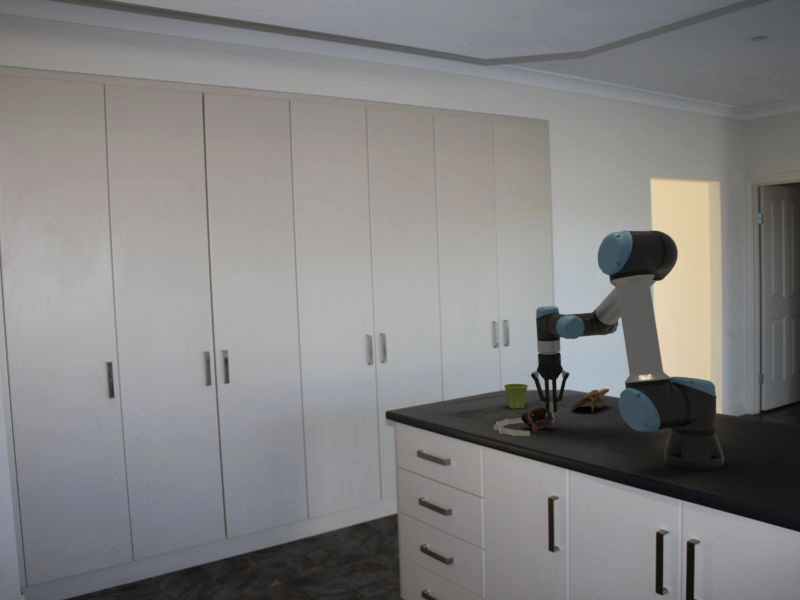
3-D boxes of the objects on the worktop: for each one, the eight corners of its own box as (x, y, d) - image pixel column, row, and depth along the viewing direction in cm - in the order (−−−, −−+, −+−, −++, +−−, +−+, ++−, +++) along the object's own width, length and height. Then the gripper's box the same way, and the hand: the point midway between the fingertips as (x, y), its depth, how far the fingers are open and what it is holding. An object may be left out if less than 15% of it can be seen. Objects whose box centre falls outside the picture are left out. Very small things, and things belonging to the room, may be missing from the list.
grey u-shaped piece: (529, 436, 219) (529, 432, 219) (490, 435, 223) (490, 430, 223) (535, 421, 239) (535, 417, 239) (499, 420, 243) (499, 416, 242)
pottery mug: (560, 424, 228) (556, 406, 224) (550, 444, 222) (546, 426, 218) (527, 418, 235) (523, 401, 231) (517, 437, 229) (512, 420, 225)
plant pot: (511, 404, 271) (510, 382, 270) (532, 406, 265) (532, 384, 265) (500, 408, 263) (499, 386, 263) (522, 410, 258) (521, 388, 257)
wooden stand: (584, 420, 262) (577, 401, 265) (619, 408, 256) (611, 389, 259) (570, 419, 247) (562, 399, 250) (607, 405, 241) (599, 385, 244)
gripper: (569, 350, 228) (572, 418, 230) (531, 350, 232) (534, 418, 233) (568, 353, 221) (571, 424, 223) (528, 354, 225) (532, 423, 226)
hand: (552, 421), depth 228 cm, fingers closed
